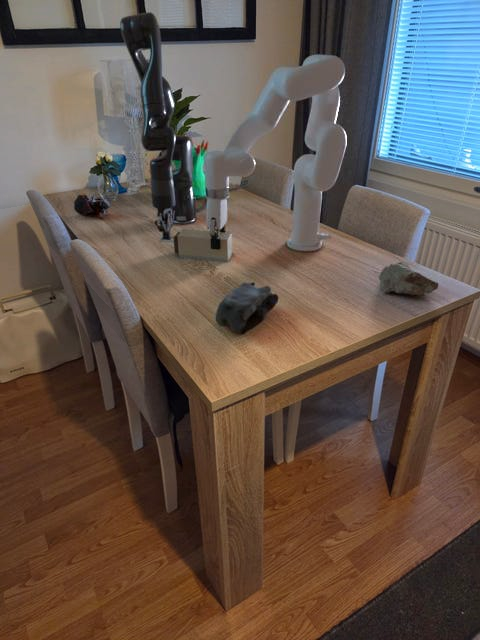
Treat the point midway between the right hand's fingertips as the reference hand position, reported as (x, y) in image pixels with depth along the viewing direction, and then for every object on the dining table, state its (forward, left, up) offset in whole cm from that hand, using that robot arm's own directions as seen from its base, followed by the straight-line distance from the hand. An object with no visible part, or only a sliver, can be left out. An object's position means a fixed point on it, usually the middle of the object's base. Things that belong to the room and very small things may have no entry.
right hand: (218, 244), depth 152 cm
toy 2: (-3, -76, -4) cm, 76 cm away
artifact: (-48, +37, -4) cm, 61 cm away
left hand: (+17, -9, -1) cm, 19 cm away
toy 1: (+43, -55, -4) cm, 70 cm away
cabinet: (+4, -2, -4) cm, 6 cm away
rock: (+2, +43, -4) cm, 43 cm away
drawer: (+9, -5, -4) cm, 11 cm away
